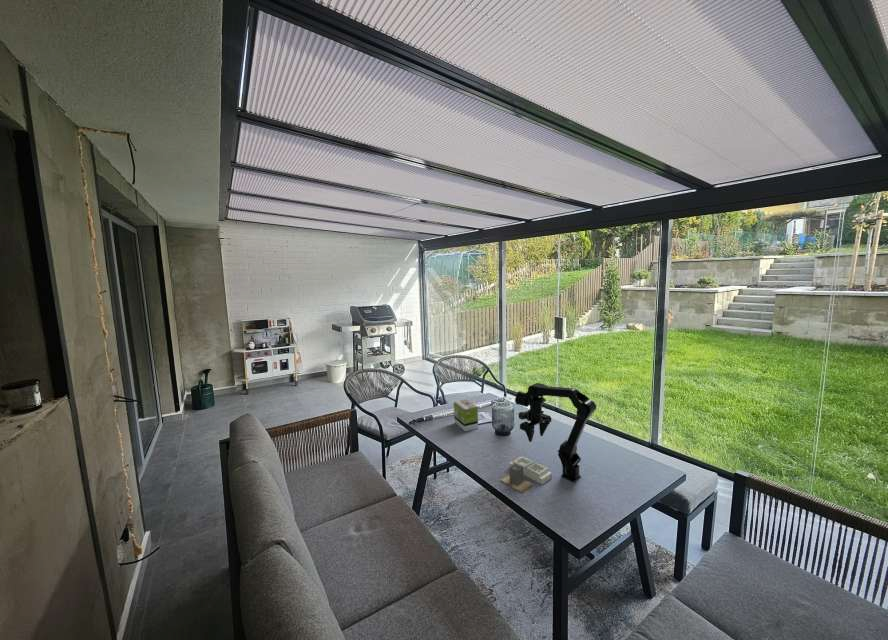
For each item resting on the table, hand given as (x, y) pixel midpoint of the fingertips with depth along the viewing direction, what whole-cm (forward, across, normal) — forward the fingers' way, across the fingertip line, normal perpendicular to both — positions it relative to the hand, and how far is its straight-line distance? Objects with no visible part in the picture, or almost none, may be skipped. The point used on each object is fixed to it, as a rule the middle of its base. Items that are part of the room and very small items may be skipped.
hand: (535, 438), depth 170 cm
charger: (+12, +20, +4) cm, 24 cm away
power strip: (+13, +9, +3) cm, 16 cm away
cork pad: (+13, +20, +4) cm, 25 cm away
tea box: (+13, -5, -57) cm, 59 cm away
